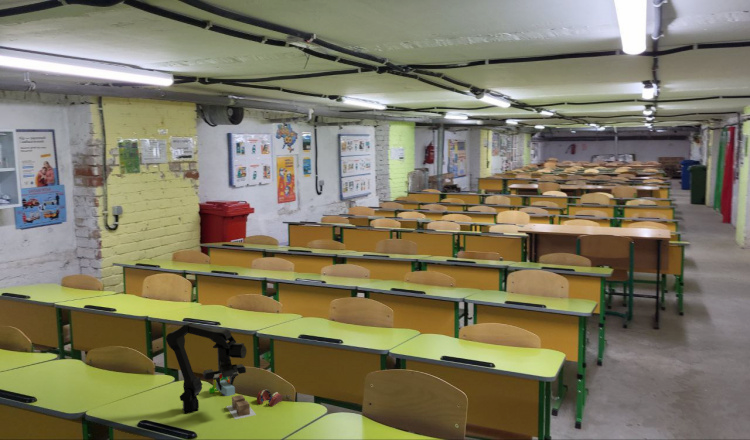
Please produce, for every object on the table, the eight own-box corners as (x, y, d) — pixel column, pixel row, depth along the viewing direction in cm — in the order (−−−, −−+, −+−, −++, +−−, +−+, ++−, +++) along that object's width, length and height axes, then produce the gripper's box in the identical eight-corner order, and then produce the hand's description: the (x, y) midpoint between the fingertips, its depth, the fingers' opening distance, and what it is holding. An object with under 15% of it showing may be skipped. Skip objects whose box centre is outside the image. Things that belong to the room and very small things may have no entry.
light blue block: (235, 394, 274) (234, 386, 274) (227, 396, 271) (226, 388, 271) (224, 387, 283) (224, 380, 283) (216, 389, 281) (216, 382, 281)
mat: (235, 419, 271) (235, 419, 271) (226, 407, 286) (226, 406, 286) (256, 415, 276) (256, 414, 276) (246, 403, 291) (246, 402, 291)
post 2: (239, 416, 274) (238, 406, 274) (236, 412, 278) (236, 402, 278) (249, 414, 276) (249, 403, 276) (246, 410, 281) (246, 400, 280)
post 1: (234, 410, 281) (234, 400, 281) (232, 406, 286) (231, 396, 285) (245, 408, 283) (244, 398, 283) (242, 404, 288) (242, 394, 287)
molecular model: (207, 393, 304) (206, 371, 303) (216, 389, 310) (216, 367, 309) (224, 397, 299) (224, 375, 298) (234, 392, 305) (233, 371, 304)
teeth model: (274, 395, 284) (254, 391, 289) (275, 408, 284) (254, 404, 289) (284, 390, 292) (264, 386, 297) (284, 402, 292) (265, 399, 297)
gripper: (207, 365, 265) (208, 399, 266) (248, 358, 273) (249, 391, 274) (202, 358, 275) (204, 391, 276) (242, 352, 283) (243, 383, 284)
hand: (225, 389), depth 277 cm, fingers closed on light blue block, 4 cm apart
